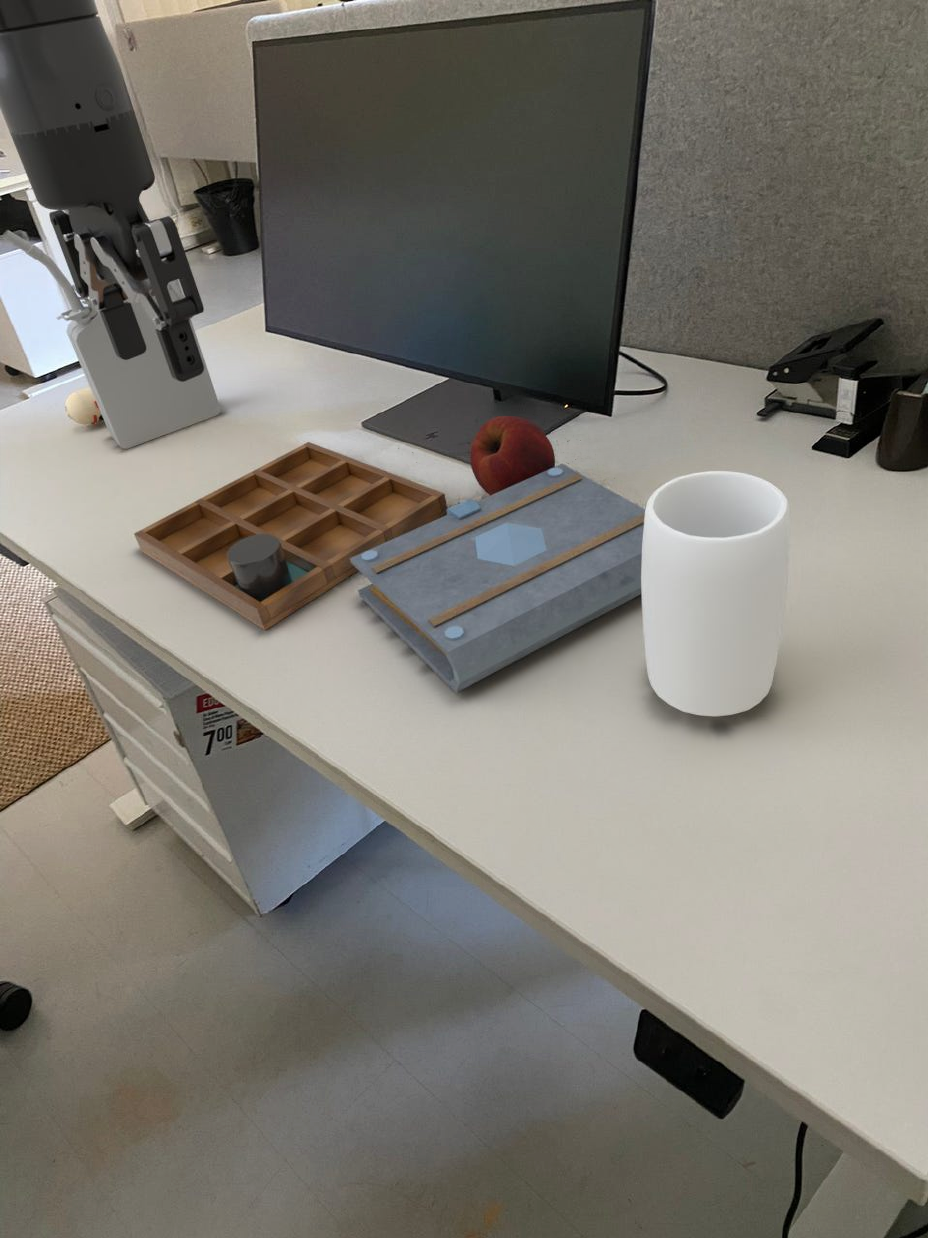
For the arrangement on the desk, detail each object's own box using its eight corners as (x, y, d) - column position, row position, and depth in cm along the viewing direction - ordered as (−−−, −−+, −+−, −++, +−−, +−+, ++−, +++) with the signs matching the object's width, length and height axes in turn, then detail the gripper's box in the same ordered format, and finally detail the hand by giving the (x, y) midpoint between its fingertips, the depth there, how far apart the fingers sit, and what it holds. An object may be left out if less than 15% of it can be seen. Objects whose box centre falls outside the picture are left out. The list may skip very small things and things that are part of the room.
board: (265, 630, 70) (257, 610, 69) (141, 552, 83) (133, 533, 82) (448, 512, 81) (444, 493, 79) (313, 459, 93) (308, 441, 92)
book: (463, 703, 60) (452, 648, 57) (358, 597, 72) (344, 547, 69) (691, 580, 67) (693, 525, 64) (562, 502, 79) (558, 453, 76)
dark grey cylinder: (259, 610, 71) (245, 570, 69) (231, 591, 74) (216, 552, 71) (302, 583, 73) (290, 544, 71) (274, 566, 76) (260, 528, 74)
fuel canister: (101, 459, 101) (1, 233, 86) (90, 446, 105) (-7, 227, 90) (223, 414, 107) (149, 194, 92) (209, 402, 110) (136, 189, 95)
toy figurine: (155, 407, 117) (70, 437, 111) (139, 375, 116) (52, 404, 110) (174, 393, 111) (84, 425, 105) (157, 358, 110) (65, 389, 103)
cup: (804, 702, 56) (830, 512, 47) (693, 753, 54) (698, 563, 45) (722, 632, 62) (731, 453, 53) (619, 674, 60) (612, 496, 51)
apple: (461, 496, 83) (448, 418, 78) (529, 468, 85) (521, 390, 80) (502, 527, 77) (491, 446, 72) (574, 496, 80) (568, 415, 75)
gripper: (-30, 126, 56) (72, 367, 66) (60, 128, 47) (162, 406, 57) (77, 102, 60) (159, 333, 70) (180, 99, 51) (256, 365, 61)
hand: (160, 366), depth 64 cm, fingers open, 8 cm apart
